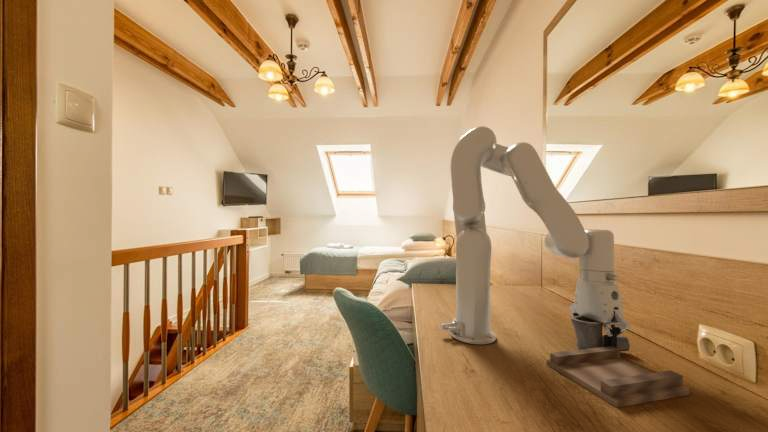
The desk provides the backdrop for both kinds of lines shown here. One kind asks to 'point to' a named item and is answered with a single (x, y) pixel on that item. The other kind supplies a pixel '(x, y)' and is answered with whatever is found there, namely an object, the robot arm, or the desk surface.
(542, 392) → the desk surface
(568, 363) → the cradle
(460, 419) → the desk surface
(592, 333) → the pipe
